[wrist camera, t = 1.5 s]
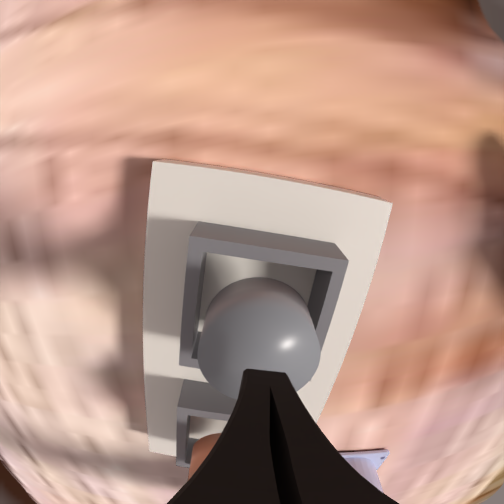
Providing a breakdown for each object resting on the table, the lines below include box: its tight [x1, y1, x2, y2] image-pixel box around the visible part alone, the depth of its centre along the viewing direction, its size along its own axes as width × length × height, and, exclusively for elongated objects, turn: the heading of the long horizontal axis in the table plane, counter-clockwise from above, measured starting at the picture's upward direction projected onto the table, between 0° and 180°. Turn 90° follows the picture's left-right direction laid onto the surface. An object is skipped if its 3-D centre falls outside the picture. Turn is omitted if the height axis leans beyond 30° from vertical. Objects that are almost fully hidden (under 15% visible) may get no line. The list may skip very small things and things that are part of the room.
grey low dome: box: [197, 277, 321, 399], centre depth 13 cm, size 5×5×2 cm
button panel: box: [143, 159, 393, 468], centre depth 18 cm, size 22×12×4 cm, turn 171°
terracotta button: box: [188, 433, 221, 480], centre depth 16 cm, size 5×5×2 cm
